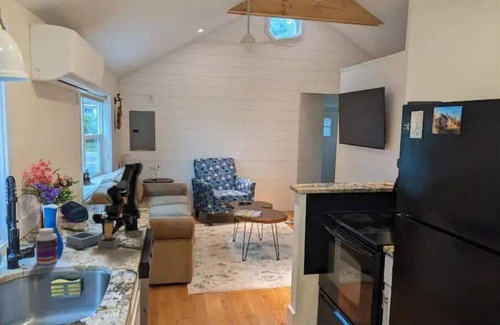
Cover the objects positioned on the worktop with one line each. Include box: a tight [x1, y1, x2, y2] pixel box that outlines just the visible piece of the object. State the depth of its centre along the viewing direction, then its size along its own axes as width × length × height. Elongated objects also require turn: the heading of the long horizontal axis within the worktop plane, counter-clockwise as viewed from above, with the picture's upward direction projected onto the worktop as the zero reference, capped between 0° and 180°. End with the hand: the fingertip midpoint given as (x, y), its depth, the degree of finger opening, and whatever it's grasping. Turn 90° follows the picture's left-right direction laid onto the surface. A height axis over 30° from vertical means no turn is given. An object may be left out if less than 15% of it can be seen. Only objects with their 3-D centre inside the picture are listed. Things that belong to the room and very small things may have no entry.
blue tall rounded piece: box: [35, 197, 63, 236], centre depth 204 cm, size 15×10×20 cm
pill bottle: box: [35, 228, 58, 266], centre depth 161 cm, size 8×8×14 cm
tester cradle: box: [97, 236, 121, 250], centre depth 185 cm, size 8×8×4 cm
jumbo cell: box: [103, 219, 115, 241], centre depth 185 cm, size 4×4×13 cm
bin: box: [65, 230, 101, 249], centre depth 189 cm, size 11×11×4 cm
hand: (108, 234), depth 183 cm, fingers closed on jumbo cell, 4 cm apart
